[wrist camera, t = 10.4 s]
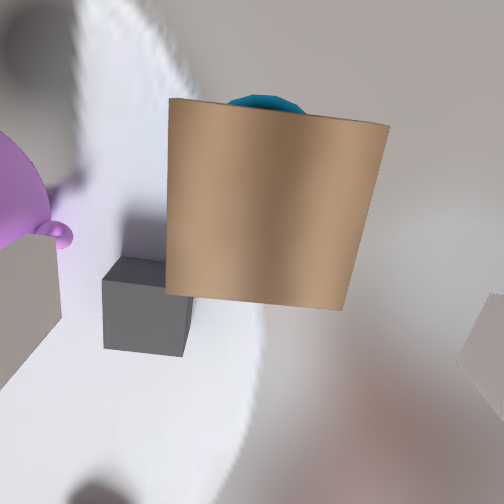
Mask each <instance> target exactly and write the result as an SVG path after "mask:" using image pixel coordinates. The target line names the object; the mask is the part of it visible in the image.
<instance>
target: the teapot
mask: <svg viewBox="0 0 504 504" xmlns="http://www.w3.org/2000/svg"><path fill="white" fill-rule="evenodd" d="M27 233H29V234H36V235H44V236H52V237H55V241H56V249H64V248H67V247H68V246H69V245H70V244H71V242H72V240H73V233H72V231H71V229H70V228H69V227H68V226H67V225H65V224H63V223H61V222H58V221H51V211H50V203H49V199H48V195H47V192H46V189H45V187H44V184H43V182H42V180H41V178H40V176H39V174H38V172H37V170H36V169H35V166H34V165H33V163H32V162H31V161H30V160H29V158H27V156H26V155H25V154H24V152H23V151H22V150H21V149H20V148H19V147H18V146H17V145H16V144H15V143H14V142H13V141H12V140H11V139H10V138H9V137H7V136H6V135H5V134H4V133H2V132H1V131H0V250H1V249H2V248H4V247H6V246H7V245H9V244H10V243H12V242H14V241H15V240H17V239H19V238H20V237H22V236H24V235H25V234H27Z"/></svg>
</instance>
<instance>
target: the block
mask: <svg viewBox="0 0 504 504" xmlns="http://www.w3.org/2000/svg"><path fill="white" fill-rule="evenodd" d="M389 129H390V126H387V125H382V124H377V123H372V122H365V121H357V120H349V119H341V118H333V117H325V116H318V115H309V114H302V113H294V112H286V111H278V110H270V109H262V108H254V107H246V106H238V105H230V104H222V103H214V102H206V101H198V100H190V99H183V98H169V120H168V177H167V234H166V290H165V294H169V295H179V296H190V297H201V298H211V299H222V300H232V301H243V302H253V303H264V304H275V305H285V306H296V307H307V308H317V309H328V310H338V311H342V309H343V305H344V301H345V297H346V293H347V290H348V286H349V282H350V278H351V274H352V271H353V267H354V263H355V259H356V255H357V252H358V248H359V244H360V240H361V236H362V232H363V229H364V225H365V221H366V217H367V213H368V209H369V206H370V201H371V198H372V194H373V190H374V187H375V183H376V179H377V175H378V171H379V167H380V164H381V160H382V156H383V152H384V148H385V145H386V141H387V137H388V133H389Z"/></svg>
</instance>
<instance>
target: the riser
mask: <svg viewBox="0 0 504 504" xmlns="http://www.w3.org/2000/svg"><path fill="white" fill-rule="evenodd" d="M165 290H166V263H164V262H157V261H149V260H141V259H134V258H126V257H120V258H119V259H118V260H117V262H116V263H115V264H114V265H113V267H112V268H111V269H110V270H109V272H108V273H107V274H106V275H105V277H104V278H103V279H102V306H103V343H104V349H113V350H122V351H131V352H140V353H149V354H158V355H167V356H176V357H183V353H184V349H185V345H186V341H187V337H188V333H189V329H190V322H191V311H192V301H193V297H190V296H179V295H169V294H165Z"/></svg>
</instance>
